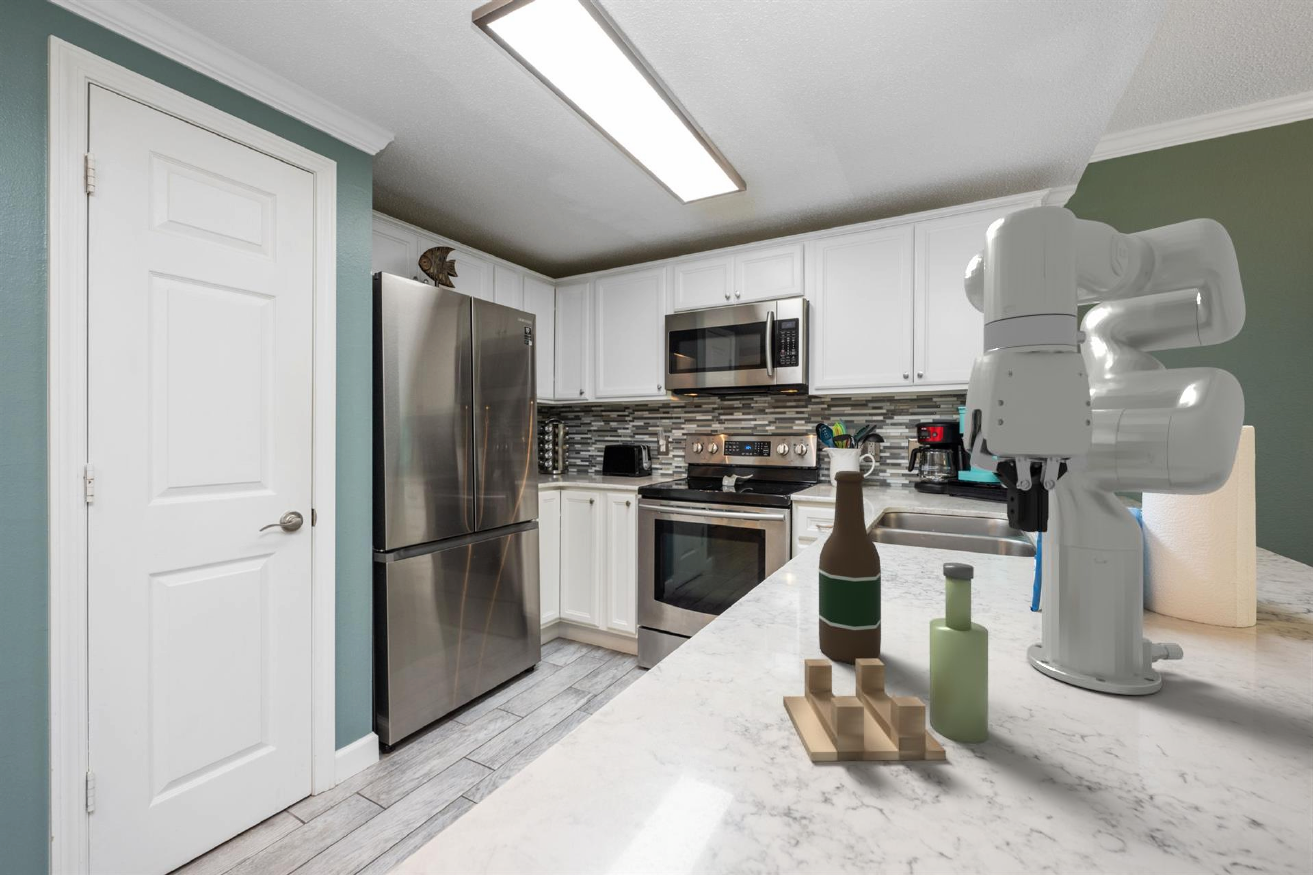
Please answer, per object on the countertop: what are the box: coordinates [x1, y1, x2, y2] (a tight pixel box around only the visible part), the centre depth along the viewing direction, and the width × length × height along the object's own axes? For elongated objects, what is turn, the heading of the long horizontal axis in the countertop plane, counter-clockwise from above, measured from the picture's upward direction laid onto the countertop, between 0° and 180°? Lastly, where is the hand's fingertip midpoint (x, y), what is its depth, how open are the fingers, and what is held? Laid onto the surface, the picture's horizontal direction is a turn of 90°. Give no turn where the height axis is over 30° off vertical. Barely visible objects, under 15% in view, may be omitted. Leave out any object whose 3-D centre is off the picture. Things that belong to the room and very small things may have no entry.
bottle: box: [929, 562, 989, 744], centre depth 53 cm, size 5×5×16 cm
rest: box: [782, 658, 947, 762], centre depth 52 cm, size 12×10×5 cm
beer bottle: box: [818, 470, 882, 666], centre depth 70 cm, size 8×8×24 cm
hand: (1027, 529), depth 52 cm, fingers closed
